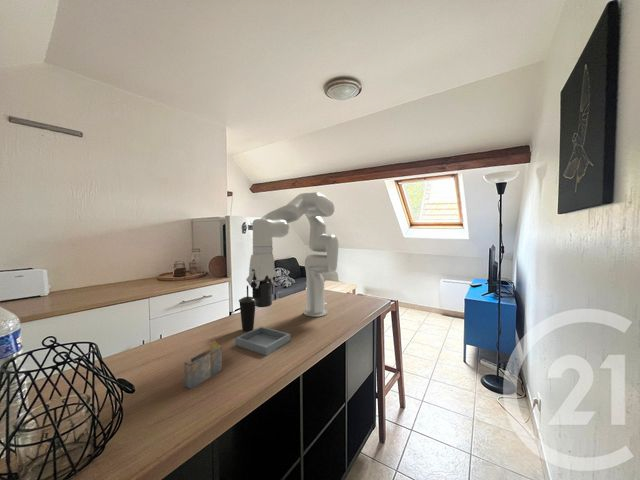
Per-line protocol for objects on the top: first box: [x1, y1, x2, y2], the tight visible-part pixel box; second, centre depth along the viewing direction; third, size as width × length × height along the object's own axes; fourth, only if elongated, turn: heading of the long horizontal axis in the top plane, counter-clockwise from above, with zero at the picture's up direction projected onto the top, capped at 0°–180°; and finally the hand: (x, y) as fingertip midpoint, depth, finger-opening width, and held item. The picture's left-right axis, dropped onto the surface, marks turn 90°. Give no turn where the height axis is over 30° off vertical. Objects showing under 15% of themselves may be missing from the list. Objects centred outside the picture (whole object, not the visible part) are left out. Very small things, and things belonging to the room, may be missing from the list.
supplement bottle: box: [254, 276, 273, 308], centre depth 102 cm, size 7×7×12 cm
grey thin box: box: [183, 339, 223, 390], centre depth 79 cm, size 11×3×10 cm, turn 154°
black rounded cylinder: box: [238, 285, 256, 333], centre depth 117 cm, size 8×8×20 cm
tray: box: [235, 325, 292, 357], centre depth 103 cm, size 14×16×3 cm
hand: (263, 295), depth 102 cm, fingers closed on supplement bottle, 6 cm apart
